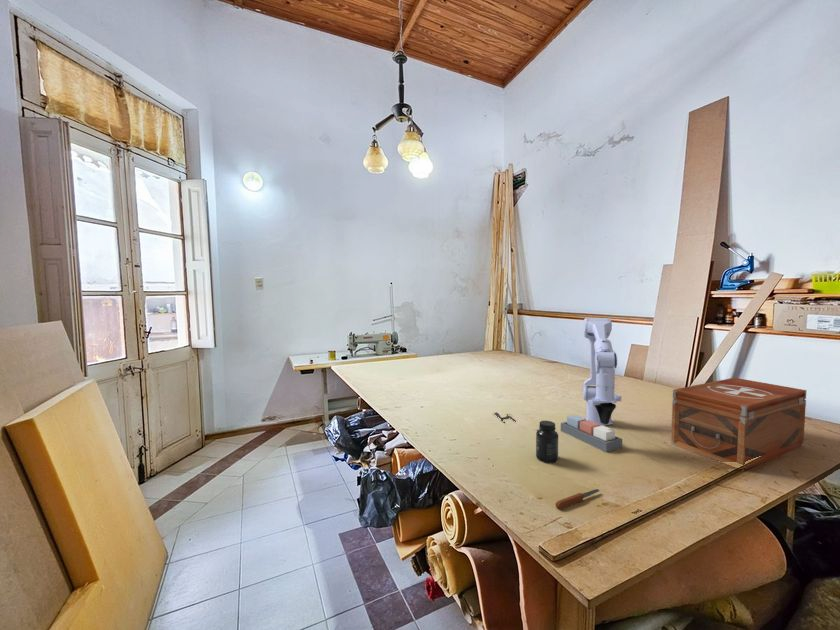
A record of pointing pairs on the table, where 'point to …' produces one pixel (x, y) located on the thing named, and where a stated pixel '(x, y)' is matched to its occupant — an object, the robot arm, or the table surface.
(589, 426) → the brick key
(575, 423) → the light blue square block
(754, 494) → the table surface
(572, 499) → the chisel
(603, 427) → the ivory key
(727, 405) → the wooden box
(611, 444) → the key housing
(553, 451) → the supplement bottle
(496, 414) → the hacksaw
